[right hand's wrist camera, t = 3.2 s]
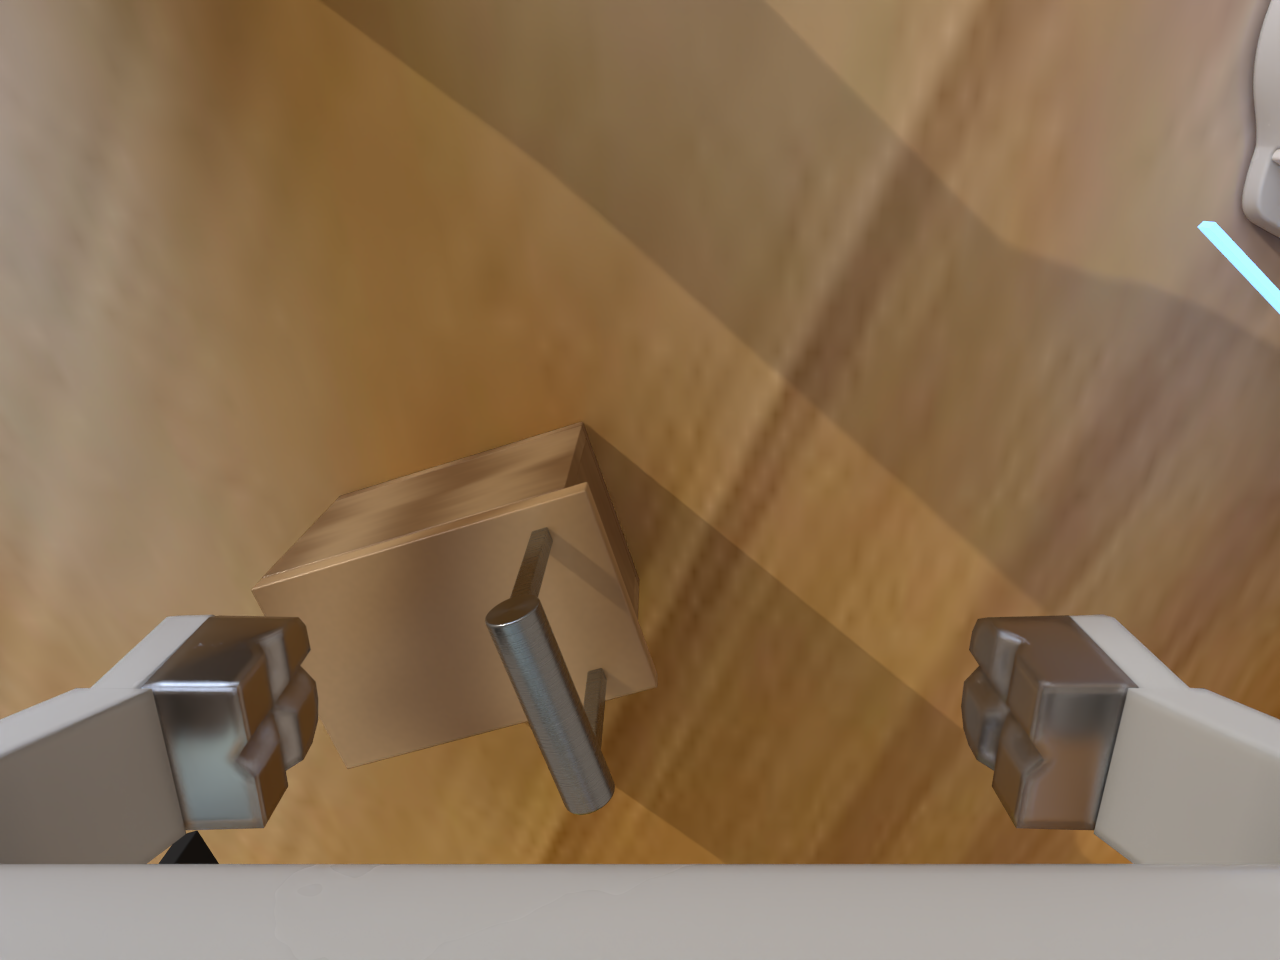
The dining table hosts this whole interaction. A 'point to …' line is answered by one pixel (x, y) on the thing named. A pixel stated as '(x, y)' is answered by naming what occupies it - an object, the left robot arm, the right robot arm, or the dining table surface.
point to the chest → (463, 499)
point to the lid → (474, 637)
